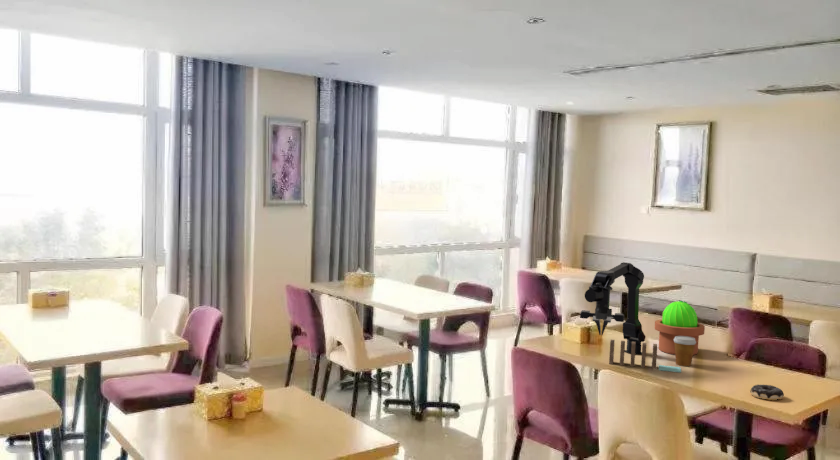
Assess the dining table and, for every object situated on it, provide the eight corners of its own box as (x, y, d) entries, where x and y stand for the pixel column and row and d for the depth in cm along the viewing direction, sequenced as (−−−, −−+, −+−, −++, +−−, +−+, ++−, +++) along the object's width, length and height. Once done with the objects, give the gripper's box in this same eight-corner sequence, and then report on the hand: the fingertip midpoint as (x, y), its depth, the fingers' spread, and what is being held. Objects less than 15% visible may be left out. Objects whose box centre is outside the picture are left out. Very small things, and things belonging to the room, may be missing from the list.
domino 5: (652, 368, 305) (653, 345, 304) (651, 366, 310) (653, 343, 309) (655, 369, 305) (657, 346, 304) (655, 366, 309) (657, 343, 309)
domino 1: (609, 364, 311) (610, 341, 310) (609, 361, 315) (610, 339, 315) (612, 364, 310) (614, 342, 309) (613, 361, 315) (614, 339, 314)
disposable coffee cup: (691, 362, 319) (692, 336, 318) (697, 367, 309) (699, 340, 308) (669, 361, 320) (671, 335, 319) (675, 366, 310) (676, 339, 309)
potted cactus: (670, 357, 327) (674, 304, 325) (645, 346, 348) (647, 296, 346) (712, 356, 332) (715, 303, 330) (684, 345, 353) (687, 296, 351)
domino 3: (630, 366, 308) (631, 343, 307) (630, 363, 313) (631, 341, 312) (634, 366, 307) (635, 344, 307) (634, 364, 312) (635, 341, 311)
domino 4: (641, 367, 306) (642, 344, 306) (641, 364, 311) (642, 342, 311) (645, 368, 306) (646, 345, 305) (645, 365, 311) (646, 342, 310)
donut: (788, 399, 268) (789, 388, 267) (772, 403, 261) (772, 393, 261) (760, 391, 277) (761, 381, 276) (743, 395, 270) (744, 385, 270)
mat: (658, 370, 303) (658, 369, 303) (658, 365, 310) (658, 364, 310) (681, 372, 300) (681, 371, 300) (680, 368, 308) (680, 367, 308)
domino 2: (619, 365, 309) (620, 342, 309) (620, 362, 314) (621, 340, 313) (623, 365, 309) (624, 343, 308) (623, 363, 313) (625, 340, 313)
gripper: (579, 301, 308) (577, 336, 309) (624, 304, 302) (622, 340, 303) (581, 297, 318) (580, 331, 319) (624, 301, 312) (623, 335, 313)
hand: (601, 335), depth 313 cm, fingers closed
